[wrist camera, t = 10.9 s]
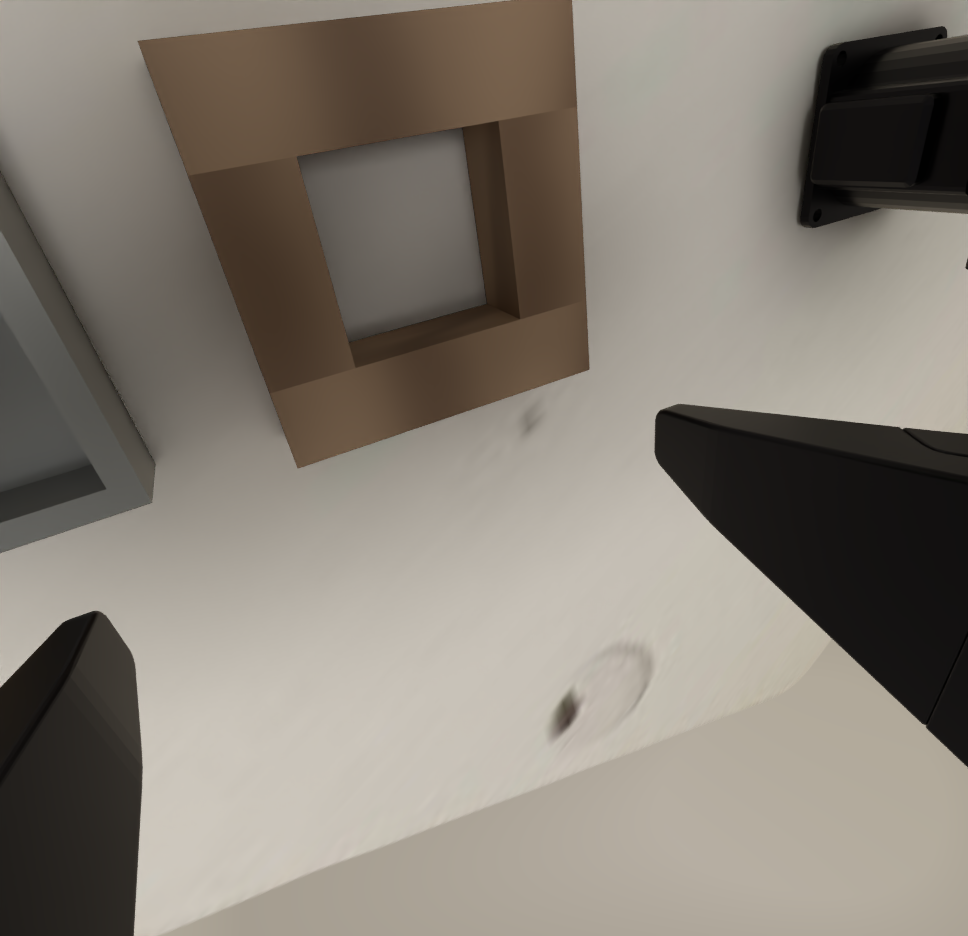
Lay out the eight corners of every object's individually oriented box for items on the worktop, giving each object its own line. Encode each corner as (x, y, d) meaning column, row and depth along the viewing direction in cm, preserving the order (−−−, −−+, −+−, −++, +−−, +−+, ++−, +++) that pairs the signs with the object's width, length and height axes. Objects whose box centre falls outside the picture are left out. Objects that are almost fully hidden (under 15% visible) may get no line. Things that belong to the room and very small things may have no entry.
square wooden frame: (525, 13, 17) (571, -7, 15) (552, 350, 22) (589, 369, 20) (144, 58, 14) (137, 40, 12) (285, 436, 19) (298, 468, 17)
